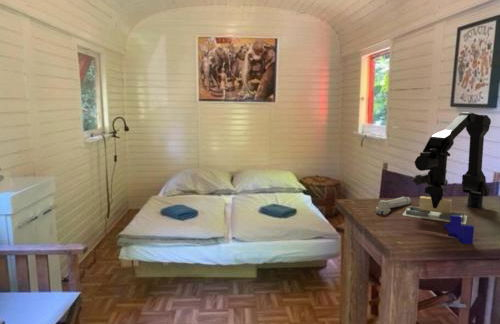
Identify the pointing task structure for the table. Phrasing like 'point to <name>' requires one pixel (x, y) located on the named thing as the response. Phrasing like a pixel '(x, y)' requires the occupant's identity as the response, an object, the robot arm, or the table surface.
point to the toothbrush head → (392, 204)
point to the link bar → (442, 207)
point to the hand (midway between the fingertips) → (435, 207)
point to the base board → (434, 216)
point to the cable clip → (460, 230)
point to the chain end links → (418, 212)
